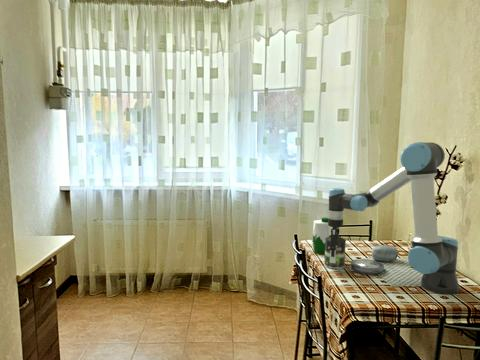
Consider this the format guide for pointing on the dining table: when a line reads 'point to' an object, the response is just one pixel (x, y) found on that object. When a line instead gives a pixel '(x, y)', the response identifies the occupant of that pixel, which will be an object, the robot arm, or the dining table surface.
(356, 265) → the plate
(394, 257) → the gray rounded cylinder
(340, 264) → the coffee can
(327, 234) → the milk carton
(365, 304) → the dining table surface
